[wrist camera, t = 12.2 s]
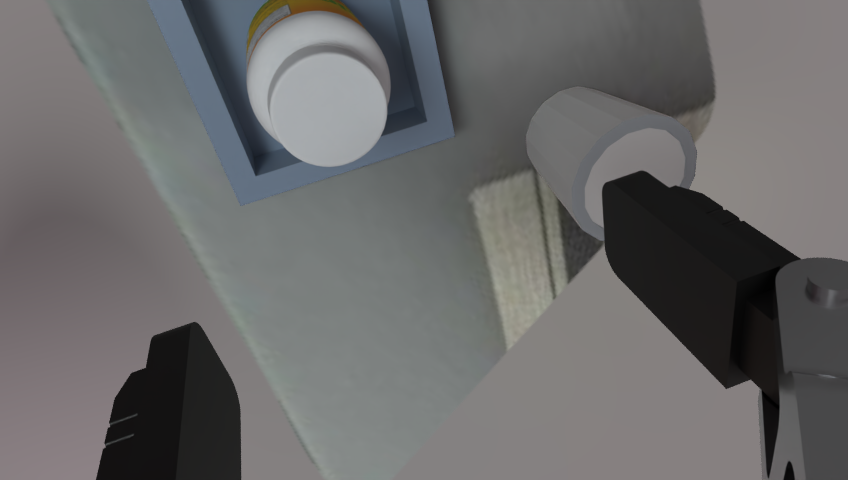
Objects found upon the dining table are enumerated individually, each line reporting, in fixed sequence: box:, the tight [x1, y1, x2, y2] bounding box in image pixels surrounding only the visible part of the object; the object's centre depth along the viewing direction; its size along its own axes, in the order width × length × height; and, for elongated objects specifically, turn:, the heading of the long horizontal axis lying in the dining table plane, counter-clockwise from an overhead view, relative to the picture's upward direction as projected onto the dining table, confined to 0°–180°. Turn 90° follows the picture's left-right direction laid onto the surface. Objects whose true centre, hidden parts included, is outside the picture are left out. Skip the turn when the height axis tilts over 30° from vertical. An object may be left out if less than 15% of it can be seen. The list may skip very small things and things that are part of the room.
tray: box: [147, 0, 455, 206], centre depth 28 cm, size 11×11×3 cm
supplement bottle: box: [246, 0, 391, 167], centre depth 24 cm, size 5×5×10 cm
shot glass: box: [526, 86, 697, 241], centre depth 32 cm, size 7×7×7 cm
